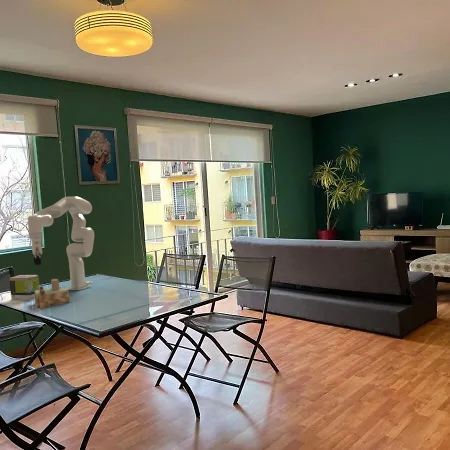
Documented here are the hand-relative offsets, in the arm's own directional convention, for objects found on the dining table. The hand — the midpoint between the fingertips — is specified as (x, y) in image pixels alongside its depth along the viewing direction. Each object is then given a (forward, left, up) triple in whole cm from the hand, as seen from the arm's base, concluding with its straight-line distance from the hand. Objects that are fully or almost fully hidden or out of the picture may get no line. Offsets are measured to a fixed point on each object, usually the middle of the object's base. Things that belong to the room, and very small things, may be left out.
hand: (37, 263), depth 273 cm
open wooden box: (-6, +9, -24) cm, 26 cm away
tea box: (+7, -18, -24) cm, 31 cm away
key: (0, +12, -16) cm, 20 cm away
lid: (-6, +7, -19) cm, 21 cm away
